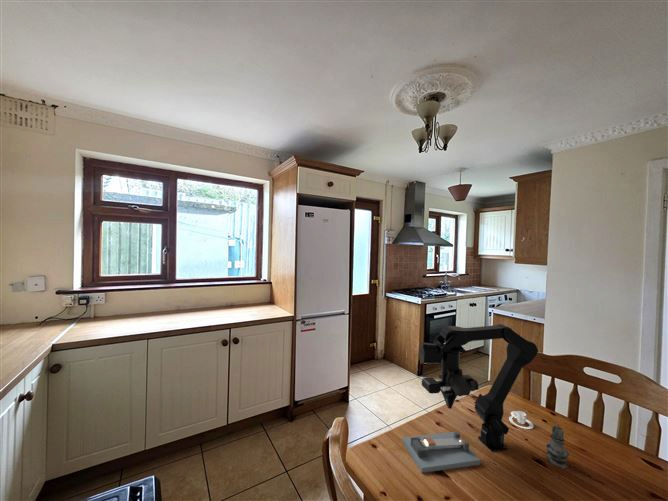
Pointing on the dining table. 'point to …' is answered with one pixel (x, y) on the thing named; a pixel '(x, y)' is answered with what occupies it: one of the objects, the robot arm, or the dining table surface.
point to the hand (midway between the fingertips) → (449, 407)
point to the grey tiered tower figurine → (557, 448)
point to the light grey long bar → (441, 443)
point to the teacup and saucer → (520, 419)
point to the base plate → (440, 454)
